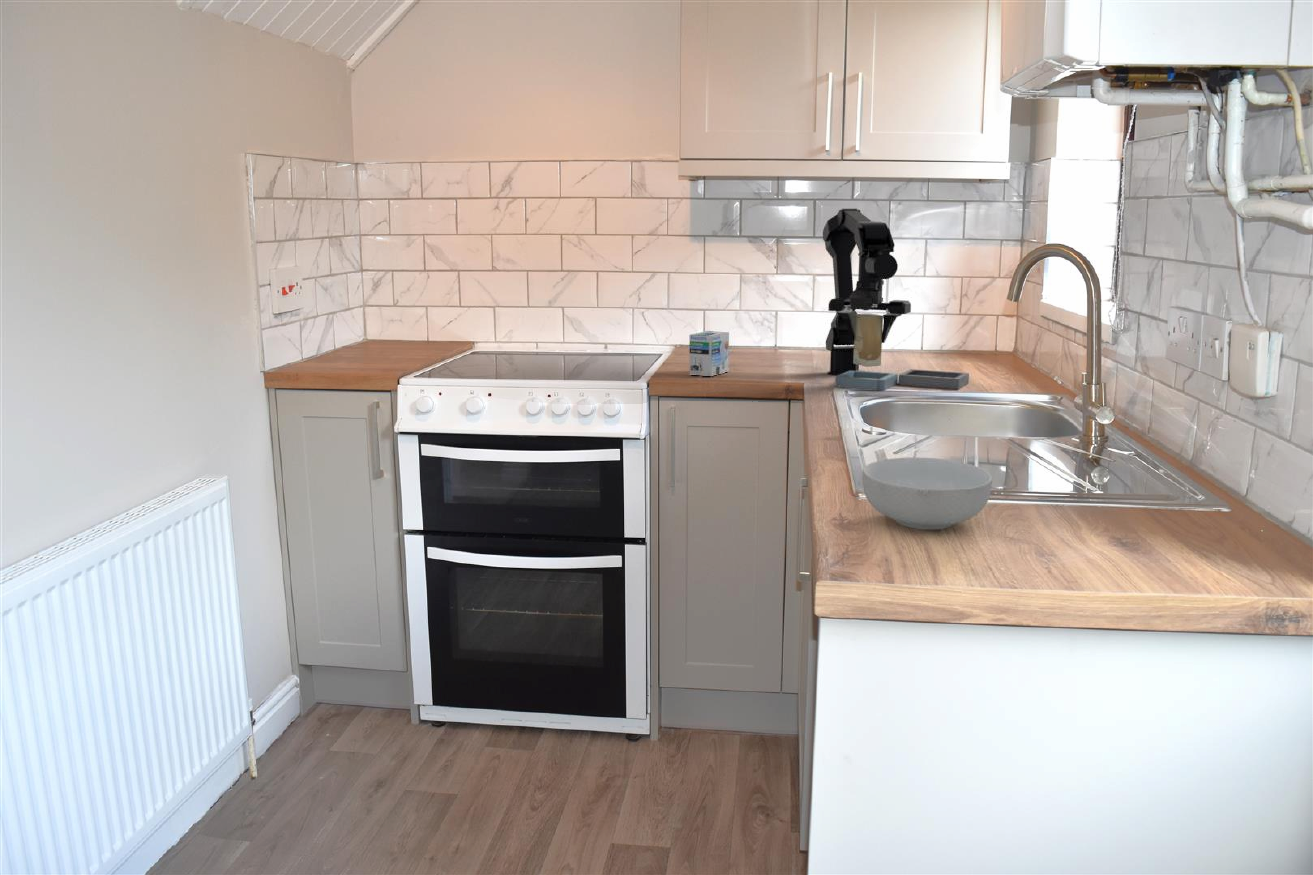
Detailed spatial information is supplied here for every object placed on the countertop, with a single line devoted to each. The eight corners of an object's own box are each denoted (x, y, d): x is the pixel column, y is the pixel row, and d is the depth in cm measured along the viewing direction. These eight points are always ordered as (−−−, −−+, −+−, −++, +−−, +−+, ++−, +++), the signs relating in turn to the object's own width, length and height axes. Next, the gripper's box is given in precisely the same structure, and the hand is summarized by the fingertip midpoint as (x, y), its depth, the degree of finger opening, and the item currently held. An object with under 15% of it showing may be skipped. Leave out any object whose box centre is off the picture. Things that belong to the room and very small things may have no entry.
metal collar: (898, 385, 252) (898, 374, 252) (910, 379, 261) (910, 369, 261) (958, 389, 245) (959, 379, 245) (968, 383, 254) (969, 373, 254)
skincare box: (852, 363, 253) (853, 313, 251) (868, 362, 255) (869, 312, 252) (866, 367, 248) (867, 315, 245) (882, 366, 249) (883, 314, 246)
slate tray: (833, 387, 250) (834, 376, 249) (850, 379, 260) (850, 370, 260) (883, 391, 244) (883, 380, 244) (898, 383, 255) (898, 373, 254)
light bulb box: (711, 378, 265) (711, 335, 263) (688, 376, 268) (688, 334, 266) (729, 372, 274) (730, 331, 272) (706, 370, 277) (706, 330, 275)
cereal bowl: (841, 526, 140) (842, 475, 138) (887, 498, 153) (889, 452, 152) (966, 548, 130) (969, 494, 129) (1004, 516, 144) (1007, 466, 142)
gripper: (821, 277, 244) (819, 343, 248) (899, 279, 235) (896, 348, 239) (837, 274, 254) (835, 338, 257) (913, 276, 245) (909, 342, 248)
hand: (867, 341), depth 250 cm, fingers closed on skincare box, 7 cm apart
